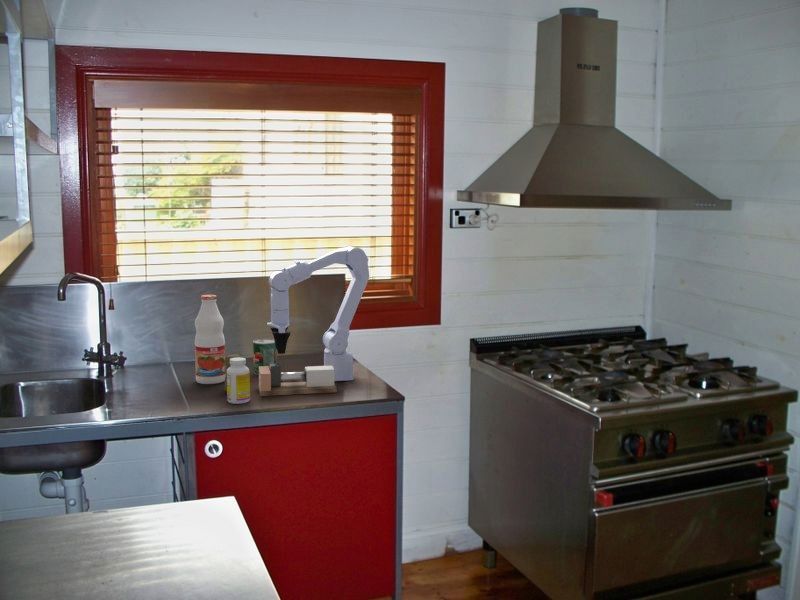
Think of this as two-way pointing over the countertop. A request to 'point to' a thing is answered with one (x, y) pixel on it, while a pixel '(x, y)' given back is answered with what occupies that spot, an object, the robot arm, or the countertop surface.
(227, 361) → the olive tan rounded piece
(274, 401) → the countertop surface
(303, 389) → the tan board
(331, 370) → the sleeve
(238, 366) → the supplement bottle
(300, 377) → the tube
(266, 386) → the socket block
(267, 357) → the canned tomato
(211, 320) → the fruit juice
